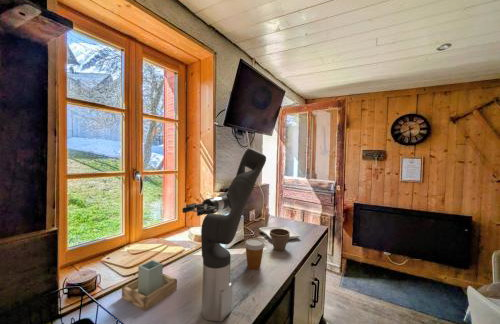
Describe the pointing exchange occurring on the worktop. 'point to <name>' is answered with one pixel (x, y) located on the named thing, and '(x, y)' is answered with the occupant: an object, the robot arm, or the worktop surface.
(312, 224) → the worktop surface
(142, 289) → the square green vase
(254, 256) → the disposable coffee cup
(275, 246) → the flower pot
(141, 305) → the pine crate
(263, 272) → the worktop surface
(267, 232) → the salad plate
